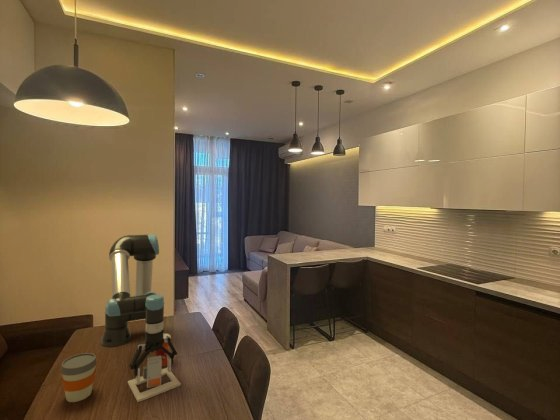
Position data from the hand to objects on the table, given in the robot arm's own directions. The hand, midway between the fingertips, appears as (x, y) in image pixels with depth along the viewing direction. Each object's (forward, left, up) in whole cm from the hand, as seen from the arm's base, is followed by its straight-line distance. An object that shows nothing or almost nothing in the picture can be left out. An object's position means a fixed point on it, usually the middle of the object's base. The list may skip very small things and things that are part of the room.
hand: (154, 376), depth 135 cm
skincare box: (0, 0, -4) cm, 4 cm away
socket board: (0, 0, -4) cm, 4 cm away
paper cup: (-15, +9, -4) cm, 18 cm away
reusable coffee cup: (-12, -27, -4) cm, 30 cm away
